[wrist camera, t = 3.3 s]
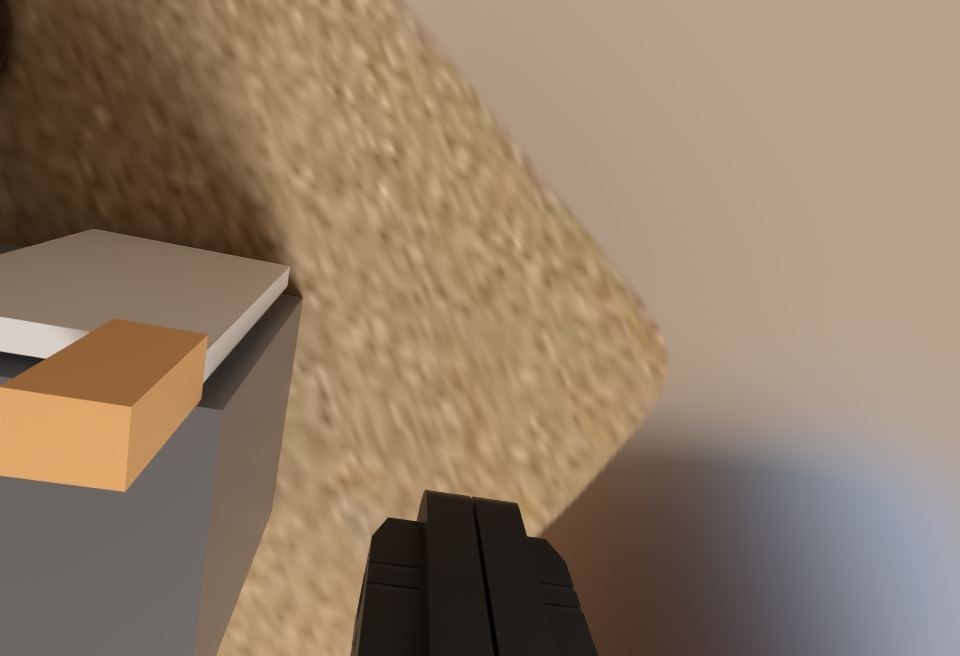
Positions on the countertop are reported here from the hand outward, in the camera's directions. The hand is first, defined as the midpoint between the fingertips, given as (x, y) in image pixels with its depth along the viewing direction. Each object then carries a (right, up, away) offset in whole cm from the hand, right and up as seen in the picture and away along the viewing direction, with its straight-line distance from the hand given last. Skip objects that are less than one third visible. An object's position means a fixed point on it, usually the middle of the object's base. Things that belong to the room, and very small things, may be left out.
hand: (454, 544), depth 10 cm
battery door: (-10, +6, +13) cm, 18 cm away
